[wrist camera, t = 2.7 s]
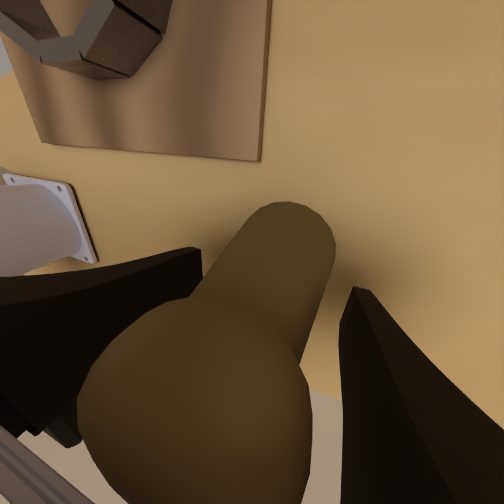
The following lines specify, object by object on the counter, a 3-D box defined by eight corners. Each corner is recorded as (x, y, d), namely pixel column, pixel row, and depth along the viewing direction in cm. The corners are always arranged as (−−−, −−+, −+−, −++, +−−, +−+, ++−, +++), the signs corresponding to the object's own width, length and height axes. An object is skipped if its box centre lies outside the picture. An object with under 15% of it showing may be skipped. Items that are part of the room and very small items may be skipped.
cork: (253, 290, 15) (121, 510, 6) (229, 212, 13) (-39, 360, 4) (341, 288, 12) (358, 690, 3) (328, 190, 10) (265, 517, 1)
